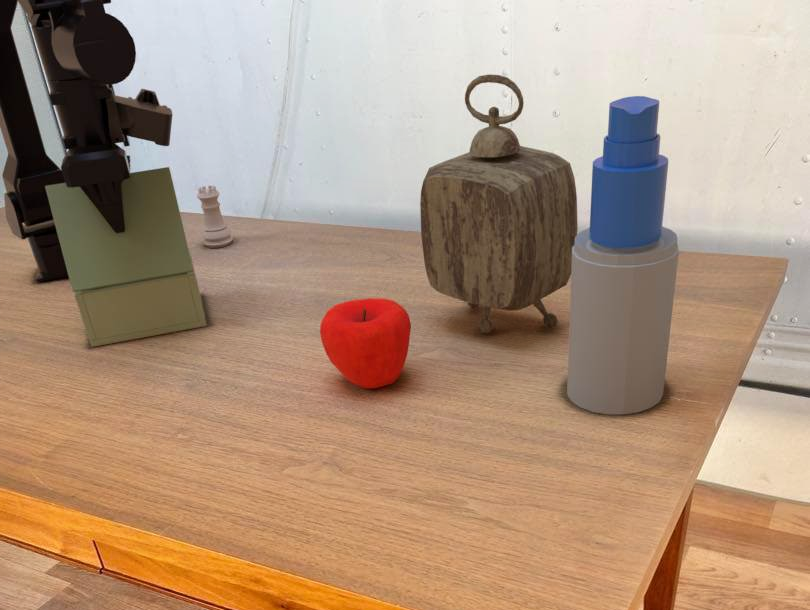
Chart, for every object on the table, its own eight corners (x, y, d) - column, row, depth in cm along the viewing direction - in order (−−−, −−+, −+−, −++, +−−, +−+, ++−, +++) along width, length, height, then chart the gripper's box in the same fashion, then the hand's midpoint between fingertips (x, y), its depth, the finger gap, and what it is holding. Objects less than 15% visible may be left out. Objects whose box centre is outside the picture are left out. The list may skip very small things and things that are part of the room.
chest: (94, 314, 108) (78, 266, 104) (200, 295, 110) (189, 247, 106) (91, 347, 100) (74, 295, 96) (206, 326, 102) (194, 274, 98)
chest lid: (46, 187, 94) (44, 185, 93) (169, 168, 96) (169, 166, 95) (73, 292, 96) (72, 291, 95) (193, 271, 98) (193, 270, 97)
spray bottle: (575, 367, 85) (586, 90, 70) (667, 373, 82) (699, 87, 67) (558, 410, 78) (566, 115, 63) (657, 418, 76) (691, 112, 61)
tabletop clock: (574, 326, 93) (583, 69, 78) (524, 357, 88) (523, 89, 73) (471, 300, 101) (462, 63, 86) (421, 327, 96) (401, 81, 81)
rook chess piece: (198, 247, 126) (185, 192, 121) (214, 237, 129) (202, 183, 124) (223, 249, 124) (211, 192, 120) (239, 239, 128) (228, 183, 123)
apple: (311, 391, 86) (298, 317, 81) (362, 355, 91) (353, 285, 87) (382, 409, 81) (373, 333, 77) (431, 371, 87) (426, 298, 82)
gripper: (159, 78, 79) (197, 244, 89) (154, 53, 94) (187, 199, 103) (37, 94, 78) (89, 262, 87) (51, 67, 92) (94, 213, 102)
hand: (120, 231), depth 95 cm, fingers closed
